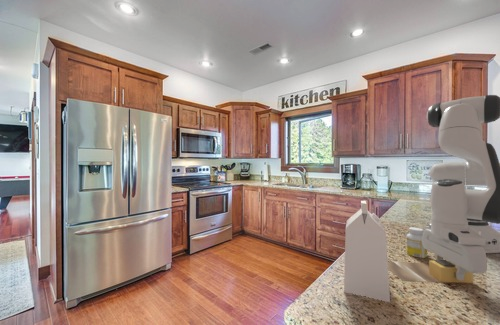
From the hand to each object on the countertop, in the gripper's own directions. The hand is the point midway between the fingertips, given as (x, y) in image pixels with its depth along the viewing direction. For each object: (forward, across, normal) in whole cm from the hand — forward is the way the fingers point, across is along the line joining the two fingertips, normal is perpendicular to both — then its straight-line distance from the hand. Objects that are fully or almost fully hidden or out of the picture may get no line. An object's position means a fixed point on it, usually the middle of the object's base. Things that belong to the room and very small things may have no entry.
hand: (450, 274), depth 69 cm
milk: (+3, +5, -28) cm, 29 cm away
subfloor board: (+2, -4, -6) cm, 8 cm away
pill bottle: (+3, -19, +2) cm, 19 cm away
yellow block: (+1, 0, 0) cm, 1 cm away
